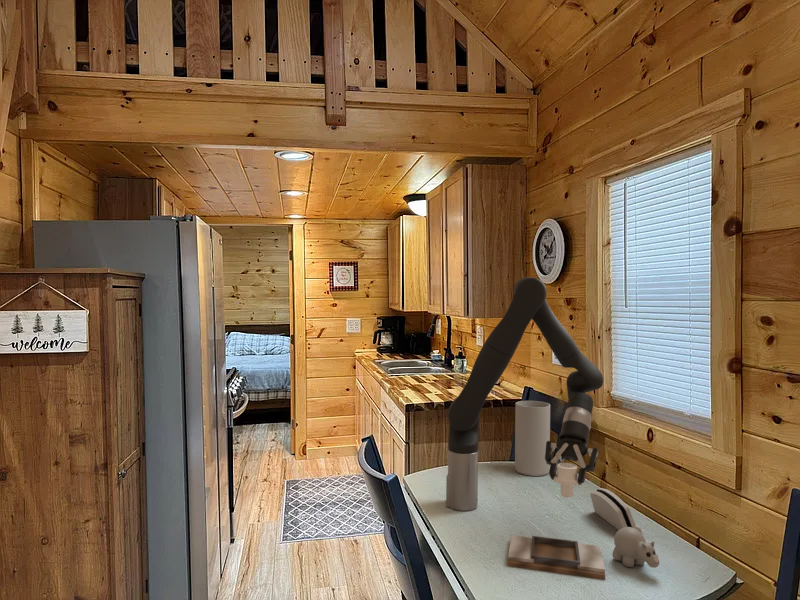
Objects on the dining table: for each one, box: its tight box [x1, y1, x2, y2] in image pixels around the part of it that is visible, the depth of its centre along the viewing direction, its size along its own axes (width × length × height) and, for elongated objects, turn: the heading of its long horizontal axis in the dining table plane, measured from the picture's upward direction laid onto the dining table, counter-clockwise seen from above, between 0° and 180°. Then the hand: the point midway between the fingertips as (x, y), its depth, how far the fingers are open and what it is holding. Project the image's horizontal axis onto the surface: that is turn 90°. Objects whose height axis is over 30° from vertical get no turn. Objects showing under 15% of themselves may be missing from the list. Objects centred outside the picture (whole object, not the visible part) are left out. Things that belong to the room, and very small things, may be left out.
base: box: [507, 534, 606, 580], centre depth 133 cm, size 22×14×2 cm, turn 75°
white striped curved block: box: [589, 487, 643, 534], centre depth 154 cm, size 17×5×10 cm, turn 10°
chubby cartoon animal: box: [612, 527, 660, 569], centre depth 129 cm, size 7×12×8 cm, turn 20°
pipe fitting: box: [553, 462, 579, 498], centre depth 143 cm, size 6×7×8 cm
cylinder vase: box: [514, 400, 551, 477], centre depth 199 cm, size 12×12×25 cm
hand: (565, 480), depth 142 cm, fingers closed on pipe fitting, 6 cm apart
